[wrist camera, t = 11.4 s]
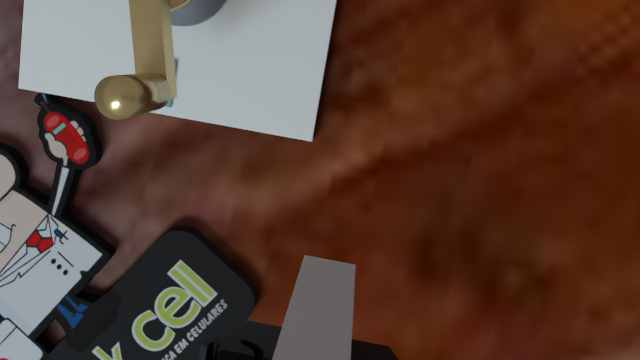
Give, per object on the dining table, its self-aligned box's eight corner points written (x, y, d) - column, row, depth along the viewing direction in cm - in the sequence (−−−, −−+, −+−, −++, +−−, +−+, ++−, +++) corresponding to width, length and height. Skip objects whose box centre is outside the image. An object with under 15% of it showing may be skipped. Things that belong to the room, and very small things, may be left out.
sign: (74, 485, 55) (-185, 266, 52) (83, 472, 57) (-167, 259, 54) (272, 294, 50) (-3, 39, 47) (275, 286, 52) (10, 40, 49)
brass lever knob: (114, -83, 41) (31, -131, 31) (206, -88, 41) (153, -138, 30) (132, 105, 44) (61, 121, 33) (218, 103, 43) (174, 118, 33)
